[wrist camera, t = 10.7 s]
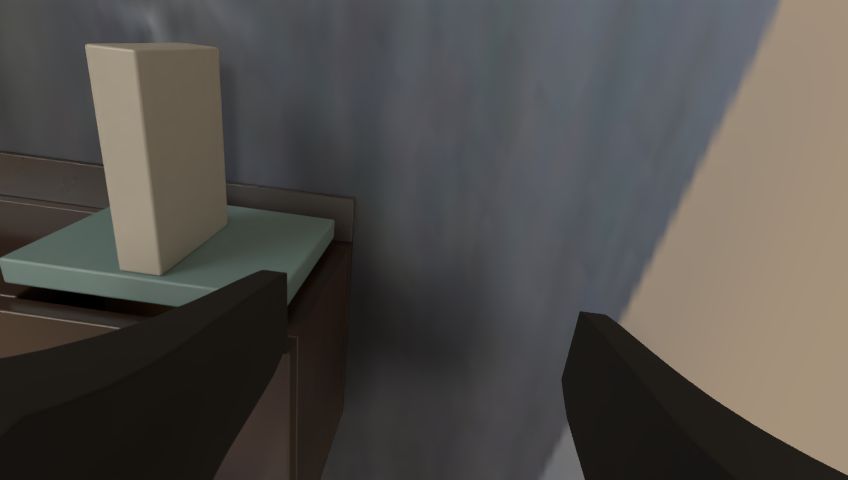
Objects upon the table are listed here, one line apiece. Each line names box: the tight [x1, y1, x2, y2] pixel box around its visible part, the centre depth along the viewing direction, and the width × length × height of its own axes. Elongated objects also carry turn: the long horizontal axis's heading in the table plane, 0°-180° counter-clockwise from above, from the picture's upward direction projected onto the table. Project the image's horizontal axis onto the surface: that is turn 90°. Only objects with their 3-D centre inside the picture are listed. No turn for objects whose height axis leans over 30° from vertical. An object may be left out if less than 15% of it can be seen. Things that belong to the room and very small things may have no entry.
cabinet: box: [0, 151, 355, 480], centre depth 18 cm, size 11×16×8 cm
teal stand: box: [0, 43, 335, 307], centre depth 15 cm, size 7×8×6 cm
